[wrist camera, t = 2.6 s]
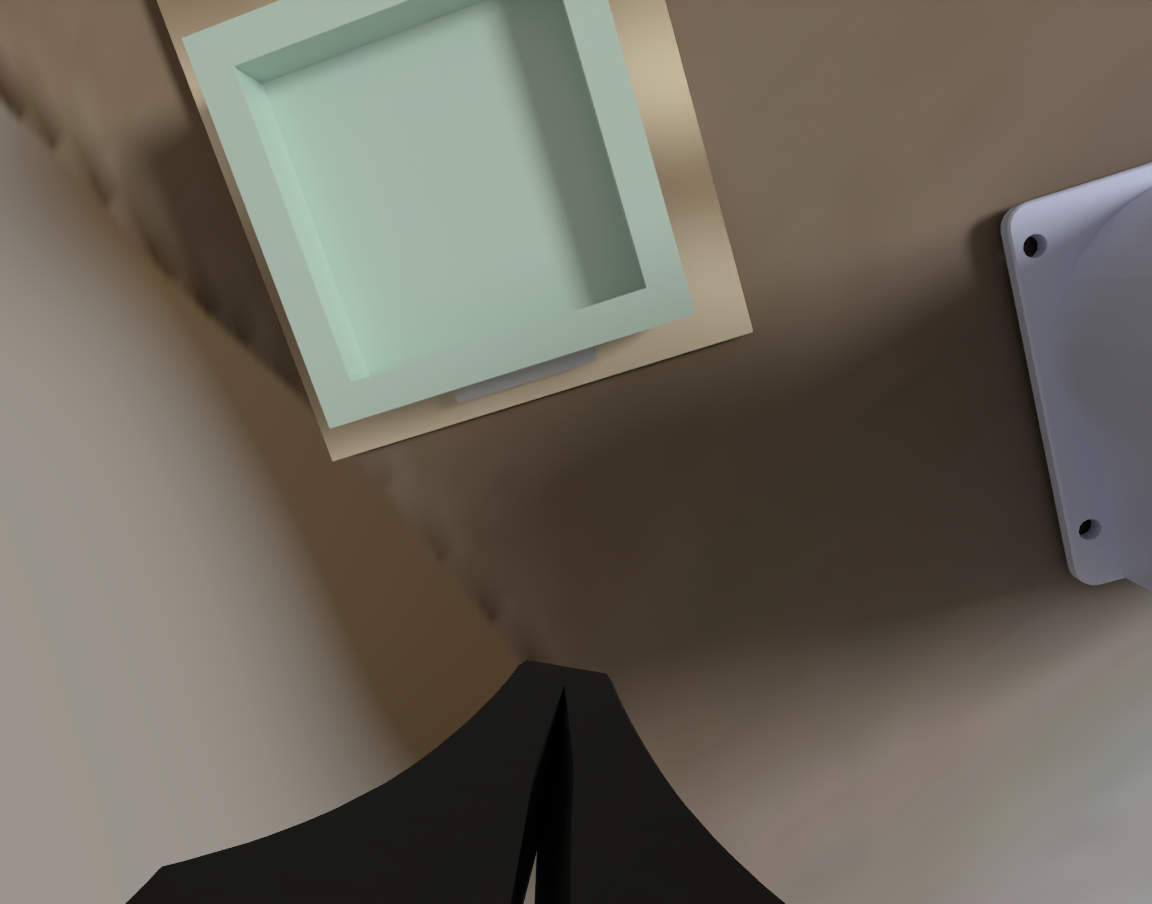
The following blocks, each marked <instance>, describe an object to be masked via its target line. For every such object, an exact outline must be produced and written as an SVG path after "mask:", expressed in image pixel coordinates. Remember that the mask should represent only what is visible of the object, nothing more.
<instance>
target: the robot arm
mask: <svg viewBox="0 0 1152 904" xmlns="http://www.w3.org/2000/svg"><path fill="white" fill-rule="evenodd" d="M1001 236H1002V241H1003V246H1004V251H1005V256H1006V261H1007V266H1008V271H1009V276H1010V281H1011V286H1012V291H1013V296H1014V301H1015V306H1016V311H1017V316H1018V321H1019V326H1020V331H1021V336H1022V341H1023V346H1024V351H1025V356H1026V361H1027V366H1028V371H1029V376H1030V380H1031V385H1032V390H1033V395H1034V400H1035V405H1036V410H1037V415H1038V420H1039V425H1040V430H1041V435H1042V440H1043V445H1044V450H1045V455H1046V460H1047V465H1048V470H1049V475H1050V480H1051V485H1052V490H1053V495H1054V500H1055V505H1056V510H1057V515H1058V520H1059V525H1060V530H1061V534H1062V539H1063V544H1064V549H1065V554H1066V559H1067V564H1068V568H1069V570H1070V573H1071V574H1072V575H1073V576H1074V577H1075V578H1077V579H1078V580H1080V581H1081V582H1083V583H1086V584H1089V585H1100V584H1104V583H1108V582H1112V581H1116V580H1120V579H1123V578H1126V579H1128V580H1130V581H1132V582H1134V583H1136V584H1137V585H1139V586H1141V587H1143V588H1145V589H1146V590H1148V591H1150V592H1152V162H1151V163H1148V164H1144V165H1141V166H1138V167H1135V168H1132V169H1129V170H1125V171H1122V172H1119V173H1116V174H1113V175H1110V176H1106V177H1103V178H1100V179H1097V180H1094V181H1090V182H1087V183H1084V184H1081V185H1078V186H1075V187H1071V188H1068V189H1065V190H1062V191H1059V192H1055V193H1052V194H1049V195H1046V196H1043V197H1040V198H1036V199H1033V200H1030V201H1027V202H1024V203H1020V204H1018V205H1016V206H1014V207H1012V208H1010V209H1009V211H1008V212H1007V213H1006V214H1005V215H1004V217H1003V219H1002V222H1001ZM1029 236H1032V237H1033V238H1035V239H1036V241H1037V243H1038V246H1037V251H1036V252H1035V254H1034V255H1033V256H1032V257H1028V256H1027V255H1026V254H1025V252H1024V251H1023V245H1024V242H1025V240H1026V239H1027V238H1028V237H1029ZM1088 519H1090V520H1091V528H1090V529H1089V530H1088V532H1086V533H1084V534H1082V535H1080V534H1079V527H1080V525H1081V524H1082V523H1083V522H1084V521H1086V520H1088ZM536 852H537V861H536V884H535V904H785V903H784V902H783V901H781V900H780V899H779V898H778V897H777V896H775V895H774V894H773V893H772V892H771V891H770V890H768V889H767V888H766V887H765V886H764V885H763V884H761V883H760V882H759V881H758V880H757V879H756V878H755V877H754V876H753V875H752V874H751V873H750V872H749V871H748V870H746V869H745V868H744V867H743V866H742V865H741V864H740V863H739V862H738V861H737V860H736V859H735V858H734V857H733V856H732V855H730V854H729V853H728V852H727V850H726V849H725V848H724V847H723V846H722V845H721V844H720V843H719V842H718V841H717V840H716V839H715V838H714V837H713V836H712V835H711V834H710V833H709V832H708V830H707V829H706V828H705V827H704V826H703V825H702V824H701V822H700V821H699V820H698V819H697V818H696V817H695V816H694V814H693V813H692V812H691V811H690V810H689V809H688V808H687V806H686V805H685V804H684V803H683V801H682V800H681V799H680V798H679V796H678V795H677V794H676V792H675V791H674V790H673V788H672V787H671V785H670V784H669V783H668V781H667V780H666V778H665V777H664V775H663V774H662V773H661V771H660V770H659V768H658V766H657V765H656V763H655V762H654V760H653V759H652V757H651V755H650V754H649V752H648V750H647V749H646V747H645V745H644V744H643V742H642V740H641V739H640V737H639V735H638V734H637V732H636V730H635V728H634V727H633V725H632V723H631V721H630V719H629V717H628V715H627V713H626V711H625V709H624V707H623V705H622V703H621V701H620V699H619V697H618V695H617V692H616V690H615V688H614V685H613V683H612V681H611V680H610V678H609V677H608V675H607V674H605V673H599V672H593V671H587V670H582V669H576V668H570V667H564V666H558V665H552V664H546V663H540V662H534V661H528V660H526V661H525V662H523V663H522V664H520V665H519V666H518V667H517V668H516V670H515V671H514V673H513V674H512V675H511V677H510V678H509V679H508V680H507V681H506V683H505V684H504V685H503V686H502V687H501V688H500V689H499V691H498V692H497V693H496V694H495V695H494V696H493V697H492V698H491V699H490V700H489V701H488V702H487V703H486V704H485V705H484V706H483V707H482V708H481V709H480V710H479V711H478V712H477V713H476V714H475V715H474V716H473V717H472V718H471V719H470V720H469V721H468V722H467V723H465V724H464V725H463V726H462V727H461V728H459V729H458V730H457V731H456V732H455V733H453V735H451V736H450V737H449V738H448V739H446V740H445V741H444V742H443V743H442V744H440V745H439V746H438V747H437V748H435V749H434V750H433V751H432V752H430V753H429V754H428V755H426V756H425V757H424V758H422V759H421V760H419V761H418V762H417V763H415V764H414V765H412V766H411V767H410V768H408V769H406V770H405V771H403V772H402V773H400V774H399V775H397V776H396V777H394V778H393V779H391V780H389V781H388V782H386V783H385V784H383V785H381V786H379V787H377V788H375V789H373V790H371V791H369V792H367V793H365V794H363V795H362V796H359V797H357V798H356V799H354V800H352V801H350V802H348V803H346V804H344V805H342V806H340V807H338V808H336V809H334V810H332V811H329V812H327V813H325V814H323V815H320V816H318V817H316V818H313V819H311V820H308V821H306V822H304V823H301V824H299V825H296V826H293V827H291V828H288V829H285V830H283V831H280V832H277V833H275V834H272V835H269V836H267V837H264V838H261V839H258V840H255V841H252V842H249V843H246V844H242V845H239V846H235V847H232V848H228V849H225V850H221V851H218V852H214V853H211V854H207V855H204V856H200V857H197V858H193V859H190V860H186V861H183V862H179V863H175V864H171V865H167V866H163V867H161V868H160V869H159V870H158V871H157V872H156V873H155V874H154V875H153V877H152V878H151V879H150V880H149V881H148V882H147V883H146V884H145V885H144V886H143V887H142V888H141V889H140V890H139V891H138V892H137V893H136V894H135V895H134V896H133V897H132V898H131V899H130V900H129V901H128V902H127V903H126V904H523V903H524V899H525V895H526V891H527V887H528V884H529V879H530V876H531V871H532V868H533V864H534V860H535V856H536Z"/></svg>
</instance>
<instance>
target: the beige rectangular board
mask: <svg viewBox="0 0 1152 904" xmlns="http://www.w3.org/2000/svg"><path fill="white" fill-rule="evenodd" d="M276 1H279V0H157V3H158V6H159V8H160V11H161V13H162V16H163V19H164V21H165V24H166V26H167V29H168V32H169V34H170V37H171V40H172V42H173V45H174V47H175V50H176V53H177V55H178V58H179V61H180V63H181V66H182V68H183V71H184V74H185V76H186V79H187V82H188V84H189V87H190V89H191V92H192V95H193V97H194V100H195V102H196V105H197V108H198V110H199V113H200V116H201V118H202V121H203V123H204V126H205V129H206V131H207V134H208V137H209V139H210V142H211V144H212V147H213V150H214V152H215V155H216V158H217V160H218V163H219V165H220V168H221V171H222V173H223V176H224V178H225V181H226V184H227V186H228V189H229V192H230V194H231V197H232V199H233V202H234V205H235V207H236V210H237V213H238V215H239V218H240V220H241V223H242V226H243V228H244V231H245V234H246V236H247V239H248V241H249V244H250V247H251V249H252V252H253V254H254V257H255V260H256V262H257V265H258V268H259V270H260V273H261V275H262V278H263V281H264V283H265V286H266V289H267V291H268V294H269V296H270V299H271V302H272V304H273V307H274V309H275V312H276V315H277V317H278V320H279V323H280V325H281V328H282V330H283V333H284V336H285V338H286V341H287V344H288V346H289V349H290V351H291V354H292V357H293V359H294V362H295V365H296V367H297V370H298V372H299V375H300V378H301V380H302V383H303V385H304V388H305V391H306V393H307V396H308V399H309V401H310V404H311V406H312V409H313V412H314V414H315V417H316V420H317V422H318V425H319V427H320V430H321V432H322V435H323V438H324V441H325V443H326V446H327V448H328V451H329V454H330V456H331V459H332V461H335V460H339V459H342V458H345V457H349V456H352V455H355V454H358V453H362V452H365V451H368V450H371V449H375V448H378V447H381V446H384V445H388V444H391V443H394V442H397V441H401V440H404V439H407V438H410V437H414V436H417V435H420V434H423V433H427V432H430V431H433V430H436V429H440V428H443V427H446V426H449V425H453V424H456V423H459V422H462V421H466V420H469V419H472V418H475V417H479V416H482V415H485V414H488V413H492V412H495V411H498V410H501V409H505V408H508V407H511V406H514V405H518V404H521V403H524V402H527V401H531V400H534V399H537V398H540V397H544V396H547V395H550V394H553V393H557V392H560V391H563V390H566V389H570V388H573V387H576V386H579V385H583V384H586V383H589V382H592V381H596V380H599V379H602V378H605V377H609V376H612V375H615V374H618V373H622V372H625V371H628V370H631V369H635V368H638V367H641V366H644V365H648V364H651V363H654V362H657V361H661V360H664V359H667V358H670V357H674V356H677V355H680V354H683V353H687V352H690V351H693V350H696V349H700V348H703V347H706V346H709V345H713V344H716V343H719V342H722V341H726V340H729V339H732V338H735V337H739V336H742V335H745V334H748V333H752V332H753V329H752V325H751V321H750V317H749V314H748V310H747V306H746V302H745V299H744V295H743V291H742V287H741V284H740V280H739V276H738V272H737V269H736V265H735V261H734V257H733V254H732V250H731V246H730V242H729V239H728V235H727V231H726V227H725V224H724V220H723V216H722V212H721V209H720V205H719V201H718V197H717V194H716V190H715V186H714V182H713V179H712V175H711V171H710V167H709V164H708V160H707V156H706V152H705V149H704V145H703V141H702V137H701V134H700V130H699V126H698V122H697V119H696V115H695V111H694V107H693V104H692V100H691V96H690V92H689V89H688V85H687V81H686V77H685V74H684V70H683V66H682V62H681V59H680V55H679V51H678V47H677V44H676V40H675V36H674V32H673V29H672V25H671V21H670V17H669V14H668V10H667V6H666V2H665V0H608V2H609V5H610V9H611V12H612V16H613V19H614V23H615V27H616V30H617V34H618V37H619V41H620V44H621V48H622V52H623V55H624V59H625V62H626V66H627V70H628V73H629V77H630V80H631V84H632V87H633V91H634V95H635V98H636V102H637V105H638V109H639V112H640V116H641V120H642V123H643V127H644V130H645V134H646V138H647V141H648V145H649V148H650V152H651V155H652V159H653V163H654V166H655V170H656V173H657V177H658V180H659V184H660V188H661V191H662V195H663V198H664V202H665V205H666V209H667V213H668V216H669V220H670V223H671V227H672V231H673V234H674V238H675V241H676V245H677V248H678V252H679V256H680V259H681V263H682V266H683V270H684V273H685V277H686V281H687V284H688V288H689V291H690V295H691V299H692V302H693V306H694V309H695V313H696V314H695V315H692V316H688V317H685V318H682V319H679V320H676V321H672V322H669V323H666V324H663V325H660V326H656V327H653V328H650V329H647V330H644V331H640V332H637V333H634V334H631V335H628V336H625V337H621V338H618V339H615V340H612V341H609V342H605V343H602V344H599V345H596V346H593V347H589V348H586V349H583V350H580V351H577V352H573V353H570V354H567V355H564V356H561V357H557V358H554V359H551V360H548V361H545V362H542V363H538V364H535V365H532V366H529V367H526V368H522V369H519V370H516V371H513V372H510V373H506V374H503V375H500V376H497V377H494V378H490V379H487V380H484V381H481V382H478V383H474V384H471V385H468V386H465V387H462V388H459V389H455V390H452V391H449V392H446V393H443V394H439V395H436V396H433V397H430V398H427V399H423V400H420V401H417V402H414V403H411V404H407V405H404V406H401V407H398V408H395V409H391V410H388V411H385V412H382V413H379V414H376V415H372V416H369V417H366V418H363V419H360V420H356V421H353V422H350V423H347V424H344V425H340V426H337V427H334V428H331V429H330V428H329V426H328V423H327V420H326V418H325V415H324V413H323V410H322V407H321V405H320V402H319V399H318V397H317V394H316V391H315V389H314V386H313V384H312V381H311V378H310V376H309V373H308V370H307V368H306V365H305V362H304V360H303V357H302V355H301V352H300V349H299V347H298V344H297V341H296V339H295V336H294V333H293V331H292V328H291V325H290V323H289V320H288V318H287V315H286V312H285V310H284V307H283V304H282V302H281V299H280V296H279V294H278V291H277V289H276V286H275V283H274V281H273V278H272V275H271V273H270V270H269V267H268V265H267V262H266V260H265V257H264V254H263V252H262V249H261V246H260V244H259V241H258V238H257V236H256V233H255V231H254V228H253V225H252V223H251V220H250V217H249V215H248V212H247V209H246V207H245V204H244V202H243V199H242V196H241V194H240V191H239V188H238V186H237V183H236V180H235V178H234V175H233V173H232V170H231V167H230V165H229V162H228V159H227V157H226V154H225V151H224V149H223V146H222V144H221V141H220V138H219V136H218V133H217V130H216V128H215V125H214V122H213V120H212V117H211V115H210V112H209V109H208V107H207V104H206V101H205V99H204V96H203V93H202V91H201V88H200V86H199V83H198V80H197V78H196V75H195V72H194V70H193V67H192V64H191V62H190V59H189V57H188V54H187V51H186V49H185V46H184V43H183V41H182V38H183V37H186V36H188V35H191V34H194V33H196V32H199V31H201V30H204V29H206V28H209V27H212V26H214V25H217V24H219V23H222V22H225V21H227V20H230V19H232V18H235V17H238V16H240V15H243V14H245V13H248V12H250V11H253V10H256V9H258V8H261V7H263V6H266V5H269V4H271V3H274V2H276Z"/></svg>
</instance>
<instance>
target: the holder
mask: <svg viewBox="0 0 1152 904" xmlns="http://www.w3.org/2000/svg"><path fill="white" fill-rule="evenodd" d="M182 41H183V43H184V46H185V49H186V51H187V54H188V57H189V59H190V62H191V64H192V67H193V70H194V72H195V75H196V78H197V80H198V83H199V86H200V88H201V91H202V93H203V96H204V99H205V101H206V104H207V107H208V109H209V112H210V115H211V117H212V120H213V122H214V125H215V128H216V130H217V133H218V136H219V138H220V141H221V144H222V146H223V149H224V151H225V154H226V157H227V159H228V162H229V165H230V167H231V170H232V173H233V175H234V178H235V180H236V183H237V186H238V188H239V191H240V194H241V196H242V199H243V202H244V204H245V207H246V209H247V212H248V215H249V217H250V220H251V223H252V225H253V228H254V231H255V233H256V236H257V238H258V241H259V244H260V246H261V249H262V252H263V254H264V257H265V260H266V262H267V265H268V267H269V270H270V273H271V275H272V278H273V281H274V283H275V286H276V289H277V291H278V294H279V296H280V299H281V302H282V304H283V307H284V310H285V312H286V315H287V318H288V320H289V323H290V325H291V328H292V331H293V333H294V336H295V339H296V341H297V344H298V347H299V349H300V352H301V355H302V357H303V360H304V362H305V365H306V368H307V370H308V373H309V376H310V378H311V381H312V384H313V386H314V389H315V391H316V394H317V397H318V399H319V402H320V405H321V407H322V410H323V413H324V415H325V418H326V420H327V423H328V426H329V428H330V429H331V428H334V427H337V426H340V425H344V424H347V423H350V422H353V421H356V420H360V419H363V418H366V417H369V416H372V415H376V414H379V413H382V412H385V411H388V410H391V409H395V408H398V407H401V406H404V405H407V404H411V403H414V402H417V401H420V400H423V399H427V398H430V397H433V396H436V395H439V394H443V393H446V392H449V391H452V390H455V389H459V388H462V387H465V386H468V385H471V384H474V383H478V382H481V381H484V380H487V379H490V378H494V377H497V376H500V375H503V374H506V373H510V372H513V371H516V370H519V369H522V368H526V367H529V366H532V365H535V364H538V363H542V362H545V361H548V360H551V359H554V358H557V357H561V356H564V355H567V354H570V353H573V352H577V351H580V350H583V349H586V348H589V347H593V346H596V345H599V344H602V343H605V342H609V341H612V340H615V339H618V338H621V337H625V336H628V335H631V334H634V333H637V332H640V331H644V330H647V329H650V328H653V327H656V326H660V325H663V324H666V323H669V322H672V321H676V320H679V319H682V318H685V317H688V316H692V315H695V314H696V313H695V309H694V306H693V302H692V299H691V295H690V291H689V288H688V284H687V281H686V277H685V273H684V270H683V266H682V263H681V259H680V256H679V252H678V248H677V245H676V241H675V238H674V234H673V231H672V227H671V223H670V220H669V216H668V213H667V209H666V205H665V202H664V198H663V195H662V191H661V188H660V184H659V180H658V177H657V173H656V170H655V166H654V163H653V159H652V155H651V152H650V148H649V145H648V141H647V138H646V134H645V130H644V127H643V123H642V120H641V116H640V112H639V109H638V105H637V102H636V98H635V95H634V91H633V87H632V84H631V80H630V77H629V73H628V70H627V66H626V62H625V59H624V55H623V52H622V48H621V44H620V41H619V37H618V34H617V30H616V27H615V23H614V19H613V16H612V12H611V9H610V5H609V2H608V0H279V1H276V2H274V3H271V4H269V5H266V6H263V7H261V8H258V9H256V10H253V11H250V12H248V13H245V14H243V15H240V16H238V17H235V18H232V19H230V20H227V21H225V22H222V23H219V24H217V25H214V26H212V27H209V28H206V29H204V30H201V31H199V32H196V33H194V34H191V35H188V36H186V37H183V38H182Z"/></svg>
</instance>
